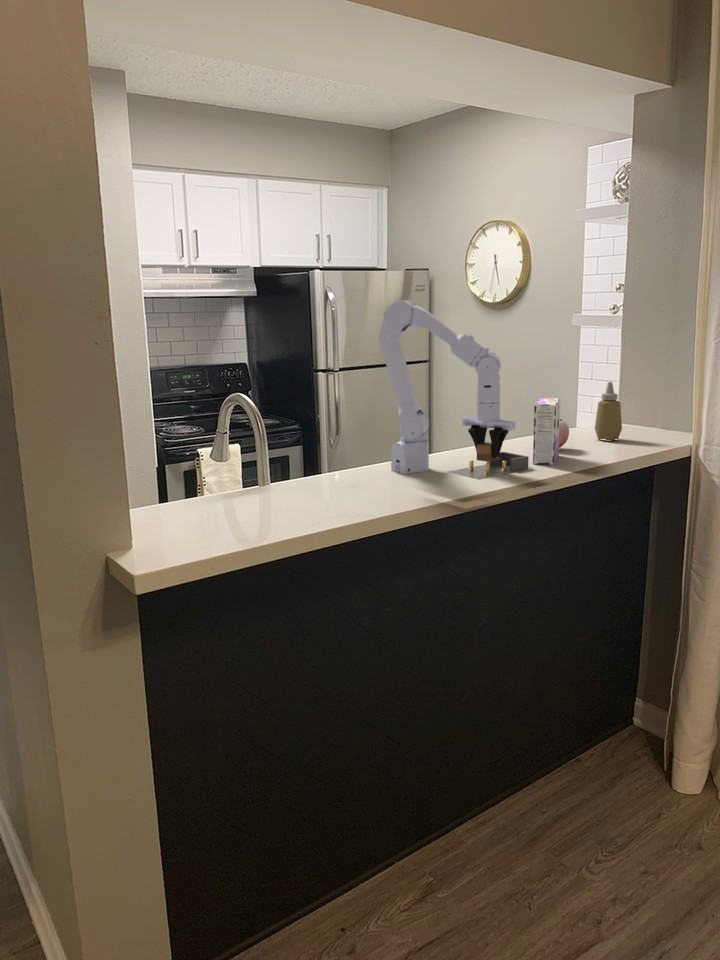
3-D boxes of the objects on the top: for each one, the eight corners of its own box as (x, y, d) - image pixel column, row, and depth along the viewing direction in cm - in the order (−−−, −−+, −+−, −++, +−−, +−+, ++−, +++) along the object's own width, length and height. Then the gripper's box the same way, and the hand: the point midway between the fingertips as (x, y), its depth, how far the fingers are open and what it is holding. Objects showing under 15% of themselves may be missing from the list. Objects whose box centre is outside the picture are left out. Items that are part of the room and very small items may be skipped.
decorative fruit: (540, 446, 235) (541, 413, 232) (568, 447, 233) (569, 413, 230) (539, 452, 226) (540, 418, 224) (568, 453, 224) (569, 418, 222)
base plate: (478, 484, 188) (478, 469, 188) (446, 476, 198) (446, 461, 197) (534, 473, 199) (534, 459, 198) (501, 466, 208) (501, 452, 208)
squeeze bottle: (615, 437, 246) (618, 380, 242) (625, 441, 238) (628, 382, 234) (590, 438, 246) (592, 381, 242) (599, 442, 238) (602, 383, 234)
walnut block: (489, 462, 194) (489, 446, 193) (476, 460, 197) (476, 444, 196) (498, 459, 197) (499, 443, 196) (485, 457, 200) (485, 442, 199)
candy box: (538, 455, 222) (539, 397, 219) (559, 455, 220) (561, 397, 217) (532, 464, 209) (533, 403, 206) (554, 465, 208) (556, 403, 204)
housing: (511, 471, 196) (512, 459, 195) (486, 465, 203) (486, 454, 203) (528, 468, 199) (528, 456, 198) (502, 462, 207) (503, 451, 206)
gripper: (455, 402, 196) (455, 455, 199) (503, 406, 186) (503, 461, 189) (472, 399, 201) (471, 451, 204) (520, 403, 191) (519, 457, 194)
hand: (488, 456), depth 197 cm, fingers closed on walnut block, 4 cm apart
